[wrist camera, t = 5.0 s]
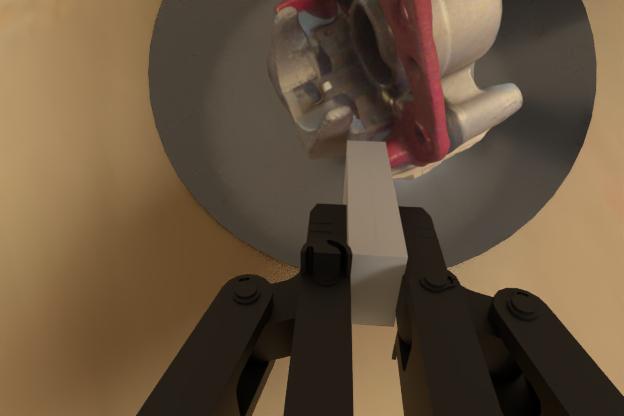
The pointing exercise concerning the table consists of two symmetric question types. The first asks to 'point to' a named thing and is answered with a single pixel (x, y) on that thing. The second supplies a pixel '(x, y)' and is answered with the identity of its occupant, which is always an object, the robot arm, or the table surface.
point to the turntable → (331, 171)
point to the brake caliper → (388, 76)
